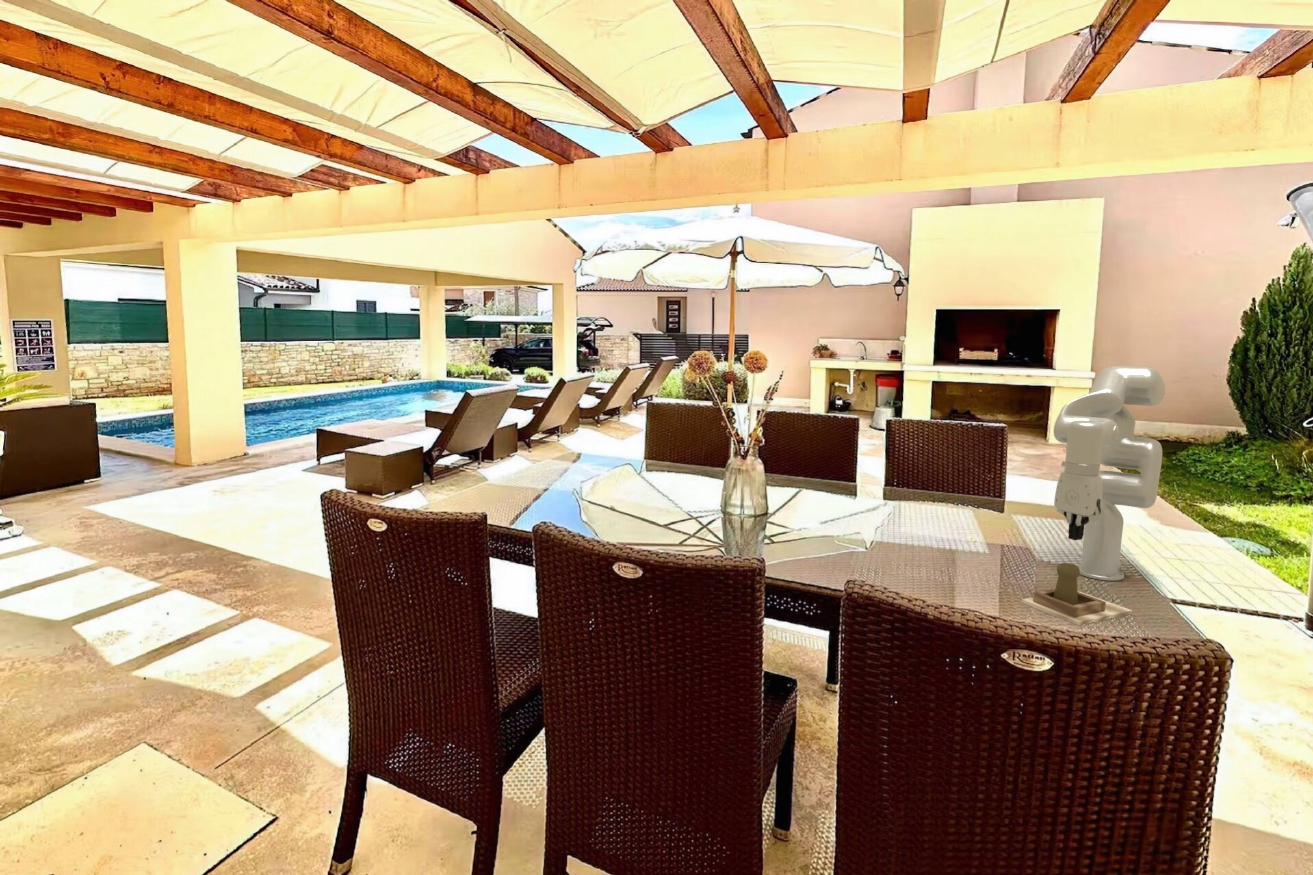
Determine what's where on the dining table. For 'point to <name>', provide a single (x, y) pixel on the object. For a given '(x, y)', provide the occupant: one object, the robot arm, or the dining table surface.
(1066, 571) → the cork
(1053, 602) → the socket stand
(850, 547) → the dining table surface
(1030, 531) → the dining table surface
